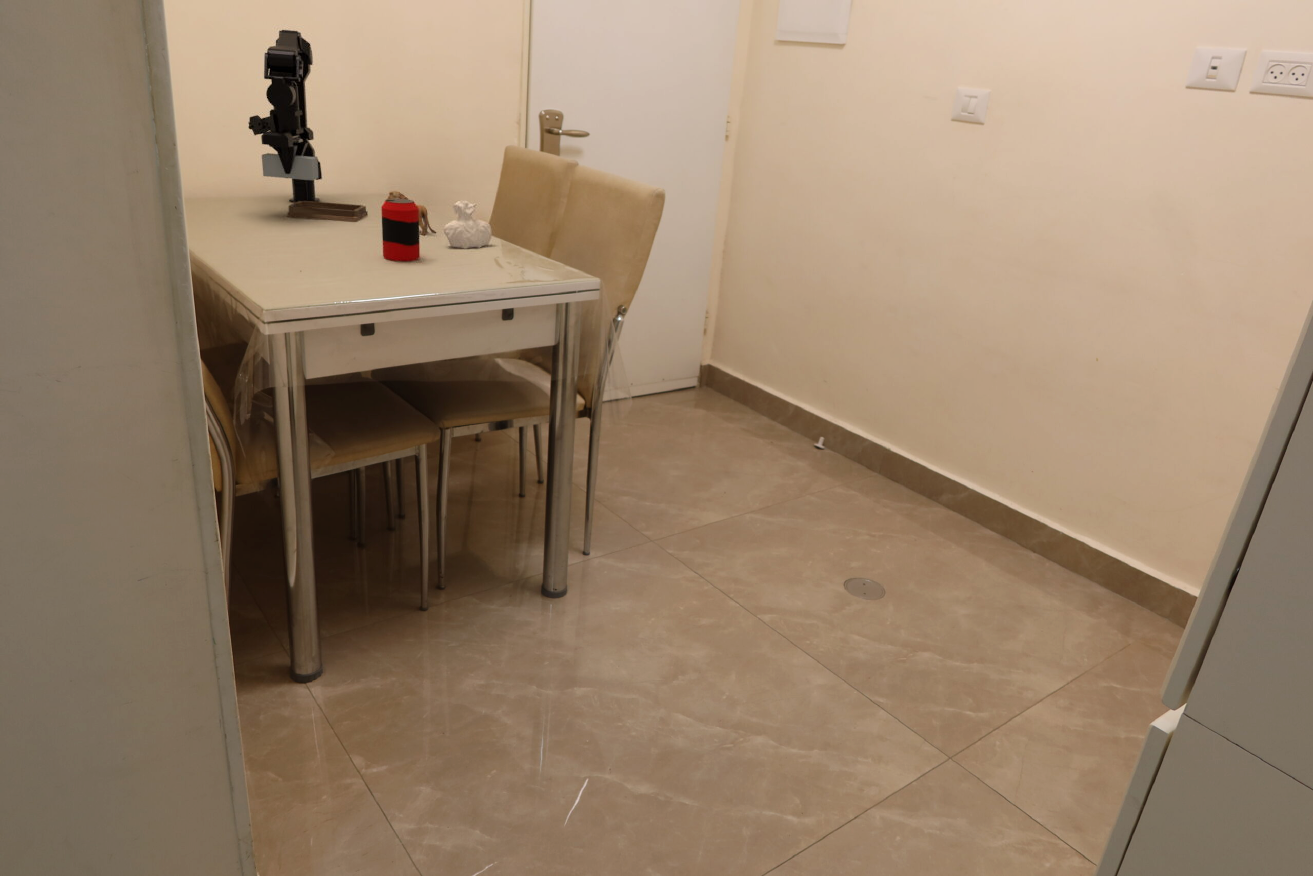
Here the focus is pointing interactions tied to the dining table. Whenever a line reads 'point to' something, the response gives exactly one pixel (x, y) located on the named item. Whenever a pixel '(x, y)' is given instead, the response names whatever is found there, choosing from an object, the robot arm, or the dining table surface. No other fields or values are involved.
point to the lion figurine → (422, 212)
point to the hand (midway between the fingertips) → (291, 172)
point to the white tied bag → (467, 228)
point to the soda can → (400, 230)
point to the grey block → (300, 169)
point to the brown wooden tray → (327, 211)
